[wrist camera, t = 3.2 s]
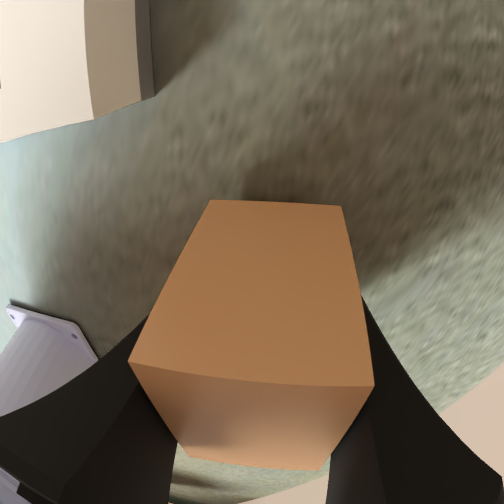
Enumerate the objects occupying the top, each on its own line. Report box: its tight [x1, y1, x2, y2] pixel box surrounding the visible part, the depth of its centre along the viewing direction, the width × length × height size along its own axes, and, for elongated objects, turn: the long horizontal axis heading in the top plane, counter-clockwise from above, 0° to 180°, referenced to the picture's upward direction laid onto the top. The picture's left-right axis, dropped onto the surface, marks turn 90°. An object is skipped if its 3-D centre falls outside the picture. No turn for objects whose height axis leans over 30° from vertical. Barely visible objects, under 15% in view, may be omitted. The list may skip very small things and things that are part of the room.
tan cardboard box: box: [128, 200, 374, 470], centre depth 8 cm, size 6×4×6 cm
